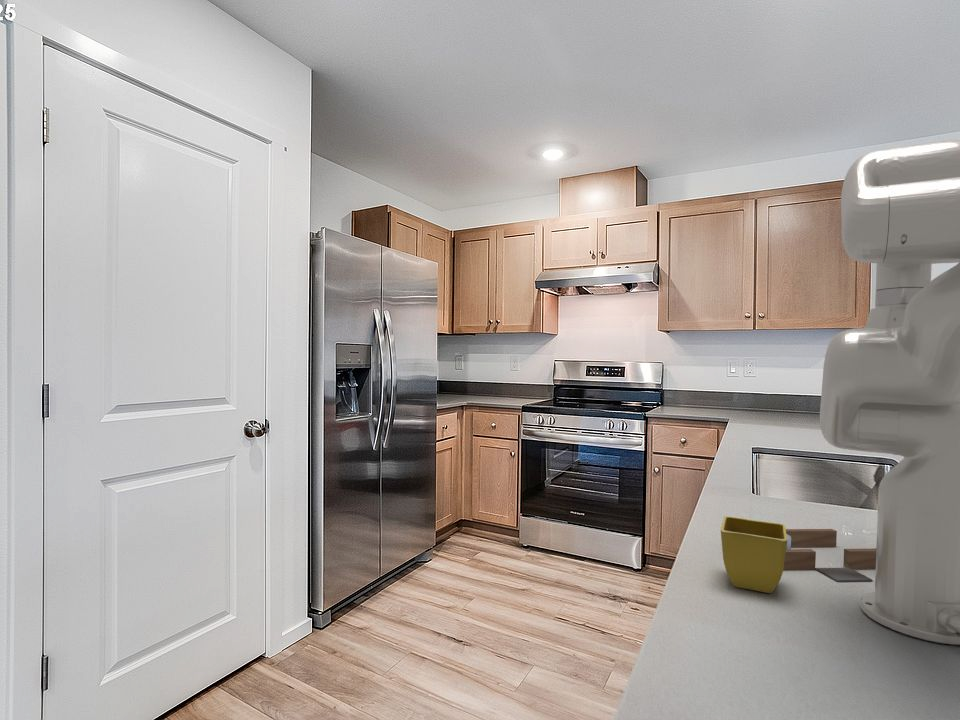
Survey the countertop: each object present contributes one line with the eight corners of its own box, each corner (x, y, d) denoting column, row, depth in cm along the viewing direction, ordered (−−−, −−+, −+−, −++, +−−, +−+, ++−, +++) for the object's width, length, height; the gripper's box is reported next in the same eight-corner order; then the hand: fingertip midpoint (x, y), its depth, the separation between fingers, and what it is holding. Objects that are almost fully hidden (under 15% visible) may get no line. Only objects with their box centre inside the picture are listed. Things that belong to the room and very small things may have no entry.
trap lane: (907, 580, 86) (908, 555, 86) (782, 582, 84) (782, 557, 84) (813, 536, 107) (814, 515, 107) (711, 536, 105) (711, 516, 104)
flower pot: (718, 589, 81) (720, 529, 81) (722, 569, 89) (724, 514, 88) (785, 603, 77) (787, 540, 77) (783, 581, 84) (785, 524, 84)
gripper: (921, 304, 98) (918, 405, 98) (845, 301, 96) (841, 404, 96) (962, 300, 90) (958, 409, 90) (880, 297, 89) (876, 408, 89)
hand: (898, 406), depth 93 cm, fingers closed
